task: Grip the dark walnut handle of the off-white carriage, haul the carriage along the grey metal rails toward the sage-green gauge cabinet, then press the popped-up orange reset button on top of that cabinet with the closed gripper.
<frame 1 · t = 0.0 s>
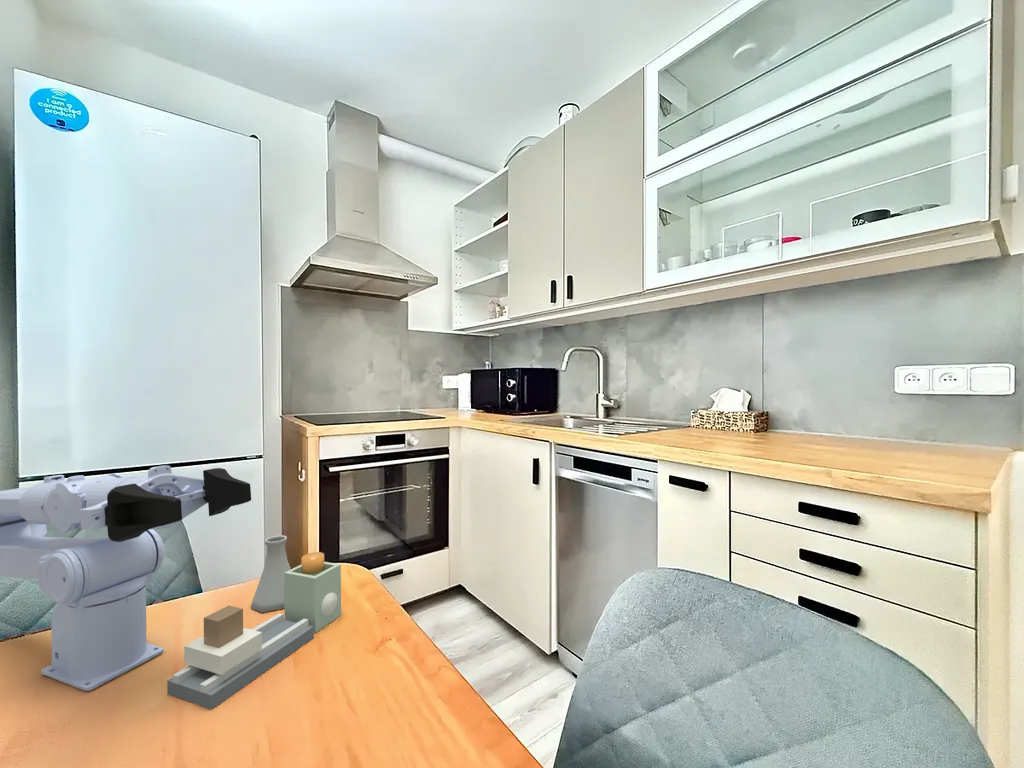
hand: (215, 500, 48), 22 cm above the table, tool horizontal, fingers open, 7 cm apart
rail track: (247, 663, 54), on the table
carriage: (223, 634, 51), point 5 cm above the table, slide at 0.0 cm
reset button: (313, 563, 64), point 8 cm above the table, slide at 0.0 cm
flask: (276, 602, 70), on the table
gauge cabinet: (313, 620, 64), on the table
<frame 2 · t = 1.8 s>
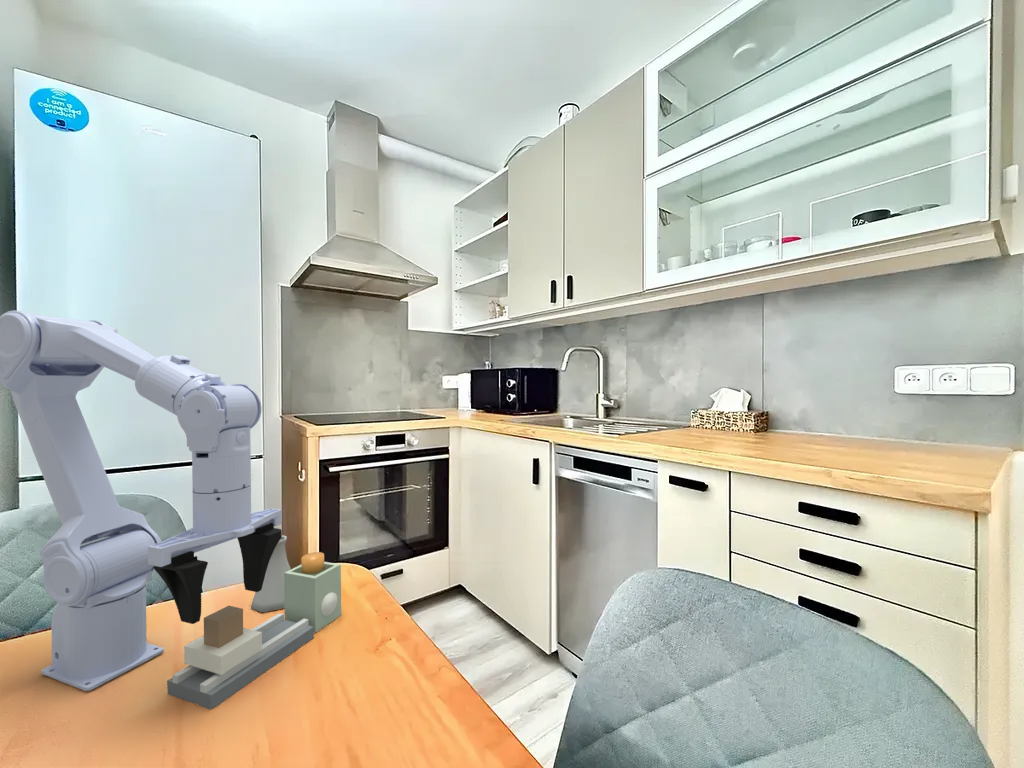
hand: (224, 604, 51), 9 cm above the table, tool pointing down, fingers open, 7 cm apart
nothing on the table moved.
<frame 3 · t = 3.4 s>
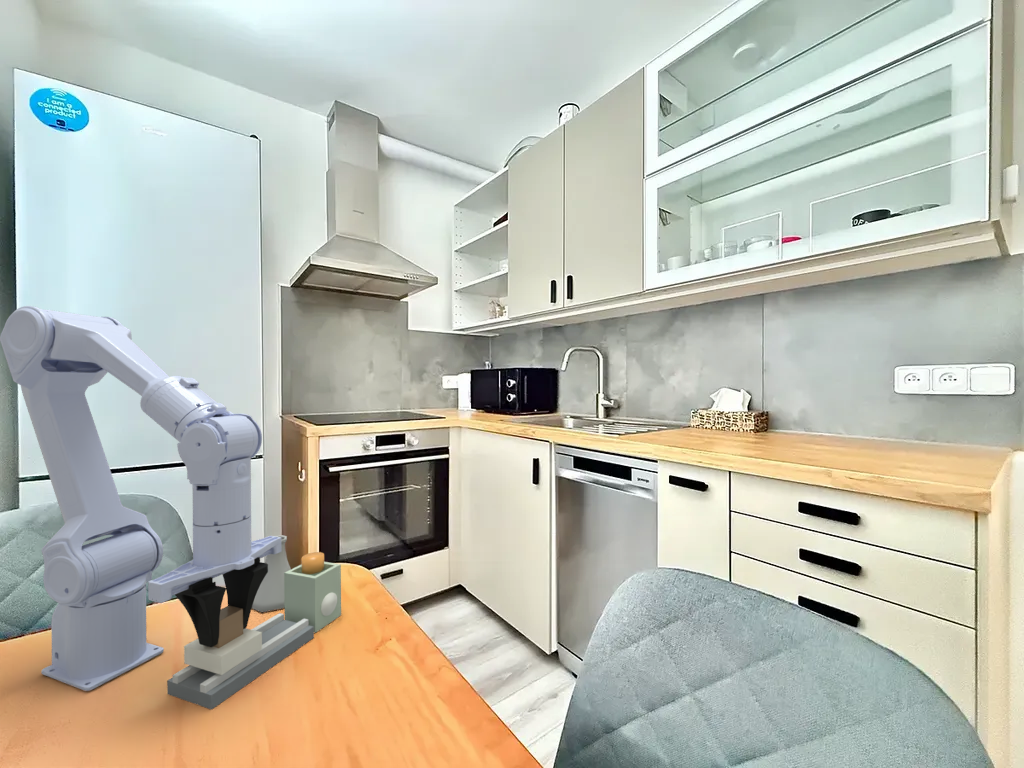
hand: (223, 635, 51), 5 cm above the table, tool pointing down, fingers closed on carriage, 3 cm apart
carriage: (223, 634, 51), point 5 cm above the table, slide at 0.0 cm, touching gripper
everything else where it was.
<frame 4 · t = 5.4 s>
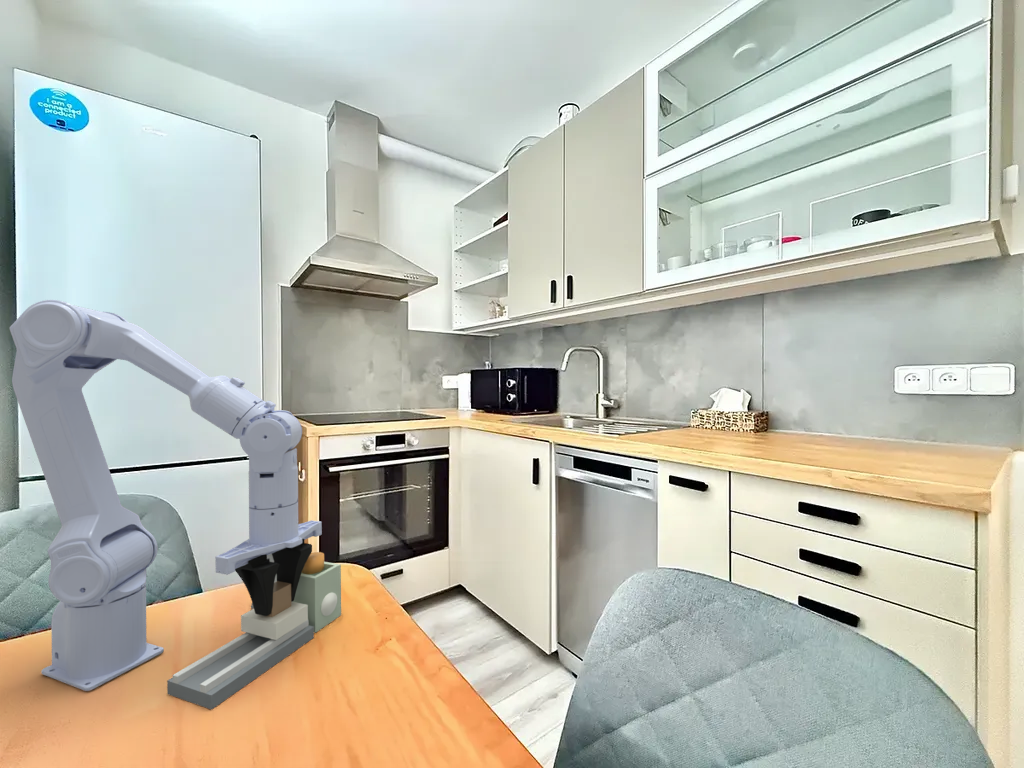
hand: (275, 606, 58), 5 cm above the table, tool pointing down, fingers closed on carriage, 3 cm apart
carriage: (275, 606, 58), point 5 cm above the table, slide at 7.0 cm, touching gripper
everything else where it was.
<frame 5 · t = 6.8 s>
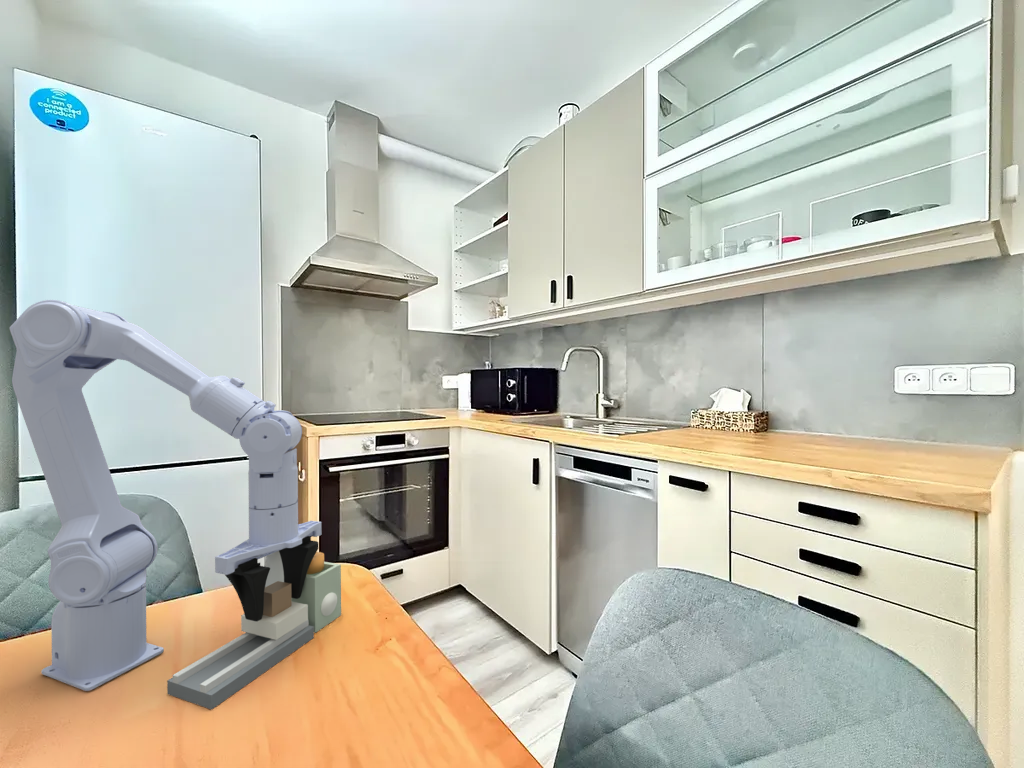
hand: (274, 607, 58), 5 cm above the table, tool pointing down, fingers open, 6 cm apart
carriage: (275, 606, 58), point 5 cm above the table, slide at 7.0 cm
everything else where it was.
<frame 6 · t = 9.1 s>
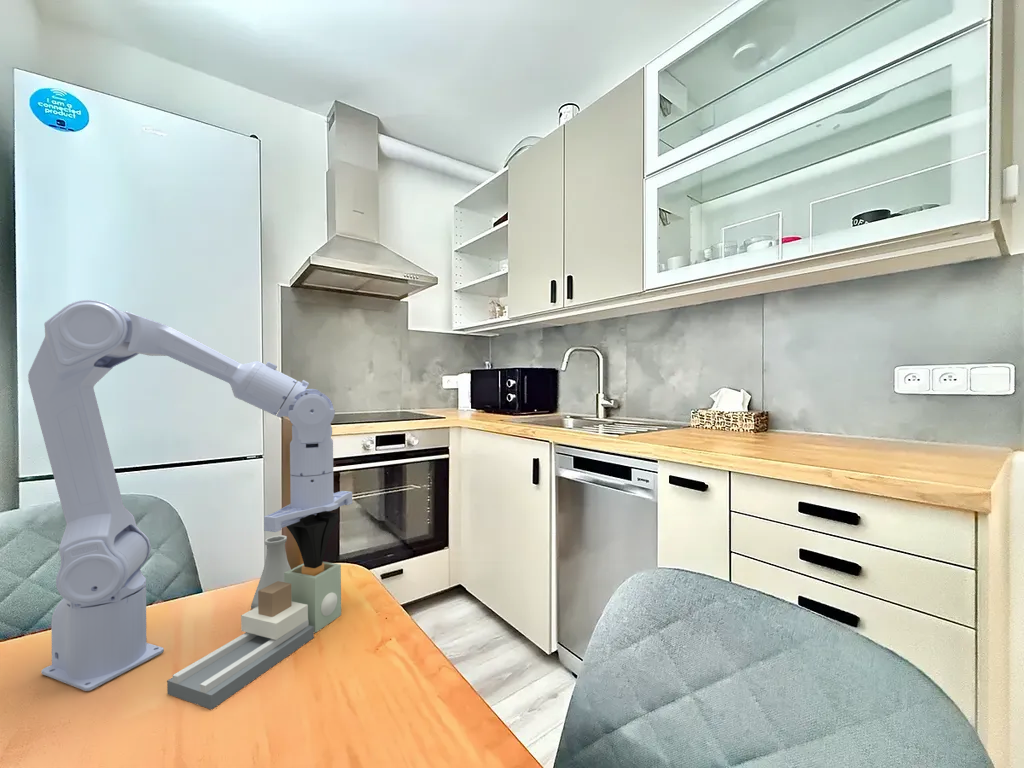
hand: (313, 566, 64), 8 cm above the table, tool pointing down, fingers closed, pressing on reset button
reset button: (313, 572, 64), point 7 cm above the table, slide at 1.4 cm, touching gripper
everything else where it was.
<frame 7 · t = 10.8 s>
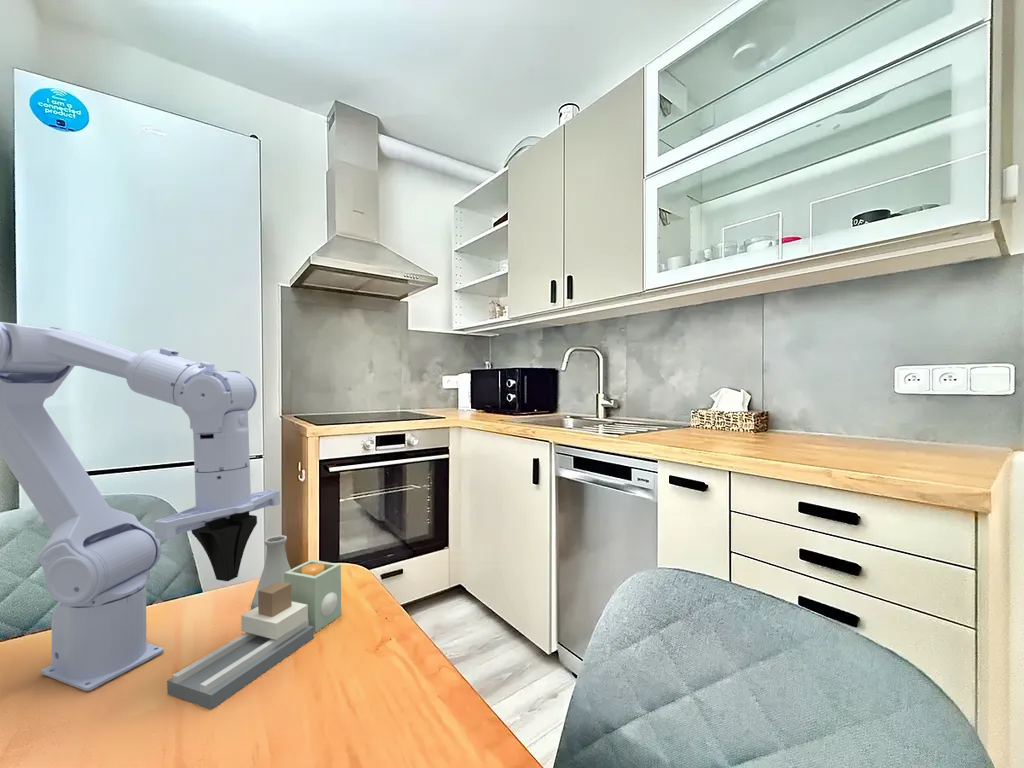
hand: (227, 578, 54), 10 cm above the table, tool pointing down, fingers closed
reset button: (313, 573, 64), point 7 cm above the table, slide at 1.6 cm
everything else where it was.
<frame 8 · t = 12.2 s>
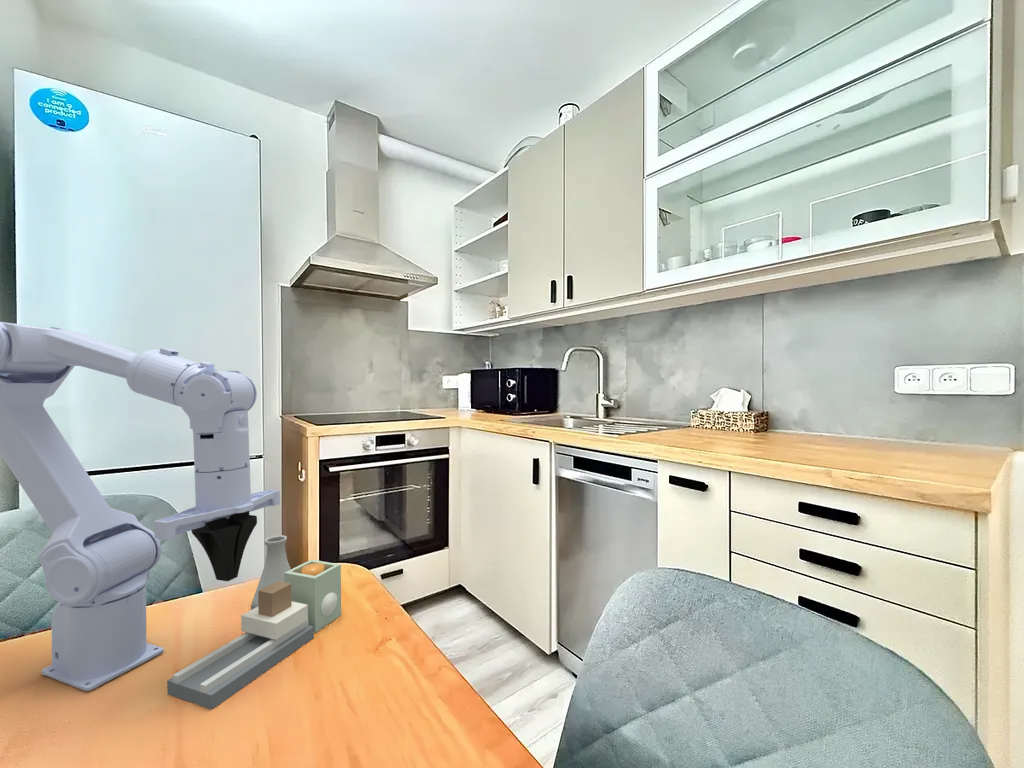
hand: (227, 578, 54), 10 cm above the table, tool pointing down, fingers closed
nothing on the table moved.
at the end: carriage slide at 7.0 cm; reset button slide at 1.6 cm; flask moved 0.3 cm from its start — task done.
